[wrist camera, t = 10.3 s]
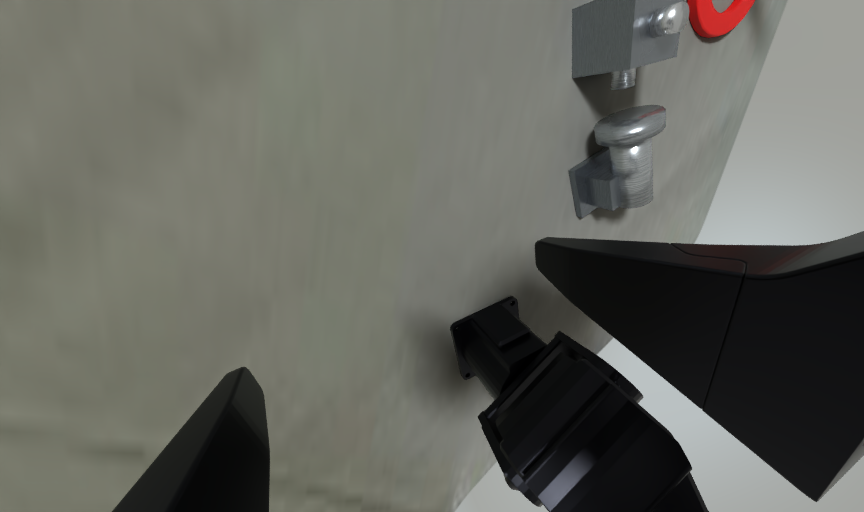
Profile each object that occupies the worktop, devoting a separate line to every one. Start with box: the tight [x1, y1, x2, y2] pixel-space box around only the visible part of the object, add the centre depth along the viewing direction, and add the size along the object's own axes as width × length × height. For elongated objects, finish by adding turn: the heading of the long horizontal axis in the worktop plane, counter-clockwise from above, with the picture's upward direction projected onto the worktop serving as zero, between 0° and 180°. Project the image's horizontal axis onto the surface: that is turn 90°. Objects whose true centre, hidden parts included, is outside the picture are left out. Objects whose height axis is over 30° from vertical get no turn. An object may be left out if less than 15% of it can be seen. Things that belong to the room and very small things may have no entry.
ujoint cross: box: [572, 0, 689, 90], centre depth 19 cm, size 6×4×6 cm, turn 13°
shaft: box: [569, 105, 666, 218], centre depth 24 cm, size 7×6×5 cm
